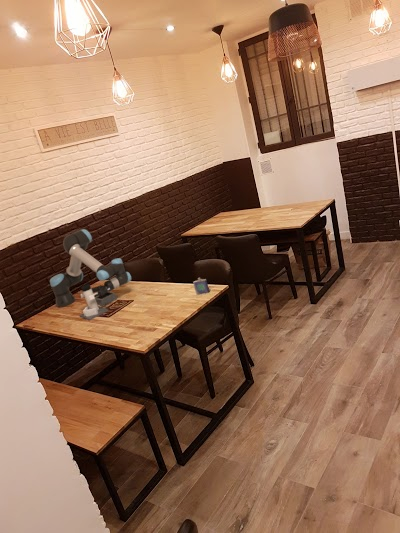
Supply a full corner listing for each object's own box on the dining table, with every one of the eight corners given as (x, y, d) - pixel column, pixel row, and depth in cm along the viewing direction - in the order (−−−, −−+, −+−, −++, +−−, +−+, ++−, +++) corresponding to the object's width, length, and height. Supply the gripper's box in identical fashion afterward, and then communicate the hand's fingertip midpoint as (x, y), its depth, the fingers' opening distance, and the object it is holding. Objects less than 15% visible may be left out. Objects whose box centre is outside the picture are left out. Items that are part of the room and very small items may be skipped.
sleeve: (95, 304, 304) (93, 298, 302) (109, 297, 311) (107, 291, 309) (103, 306, 294) (100, 300, 293) (117, 298, 301) (115, 292, 300)
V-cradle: (79, 316, 286) (77, 310, 284) (98, 307, 294) (95, 301, 293) (89, 320, 273) (86, 313, 272) (108, 310, 282) (106, 303, 281)
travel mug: (100, 308, 287) (90, 282, 282) (97, 312, 281) (87, 286, 275) (92, 310, 288) (82, 284, 283) (89, 314, 282) (79, 288, 277)
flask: (196, 294, 265) (191, 279, 262) (197, 293, 268) (192, 278, 265) (209, 292, 263) (205, 277, 260) (210, 291, 265) (206, 275, 262)
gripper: (121, 291, 283) (94, 304, 270) (105, 287, 302) (79, 299, 290) (118, 281, 281) (91, 294, 268) (101, 278, 300) (75, 290, 288)
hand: (85, 297), depth 279 cm, fingers open, 13 cm apart
